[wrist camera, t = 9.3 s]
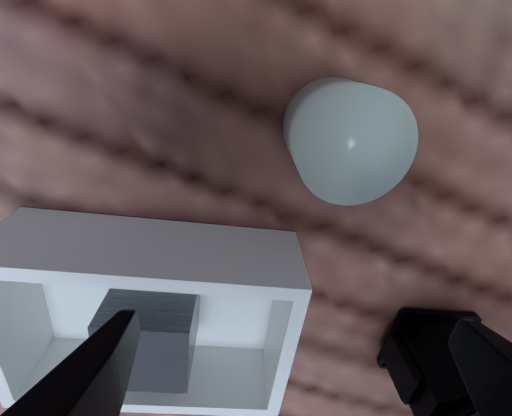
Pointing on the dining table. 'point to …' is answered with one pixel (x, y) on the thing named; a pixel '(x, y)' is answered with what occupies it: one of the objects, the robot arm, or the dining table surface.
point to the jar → (349, 139)
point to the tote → (160, 280)
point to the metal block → (157, 336)
